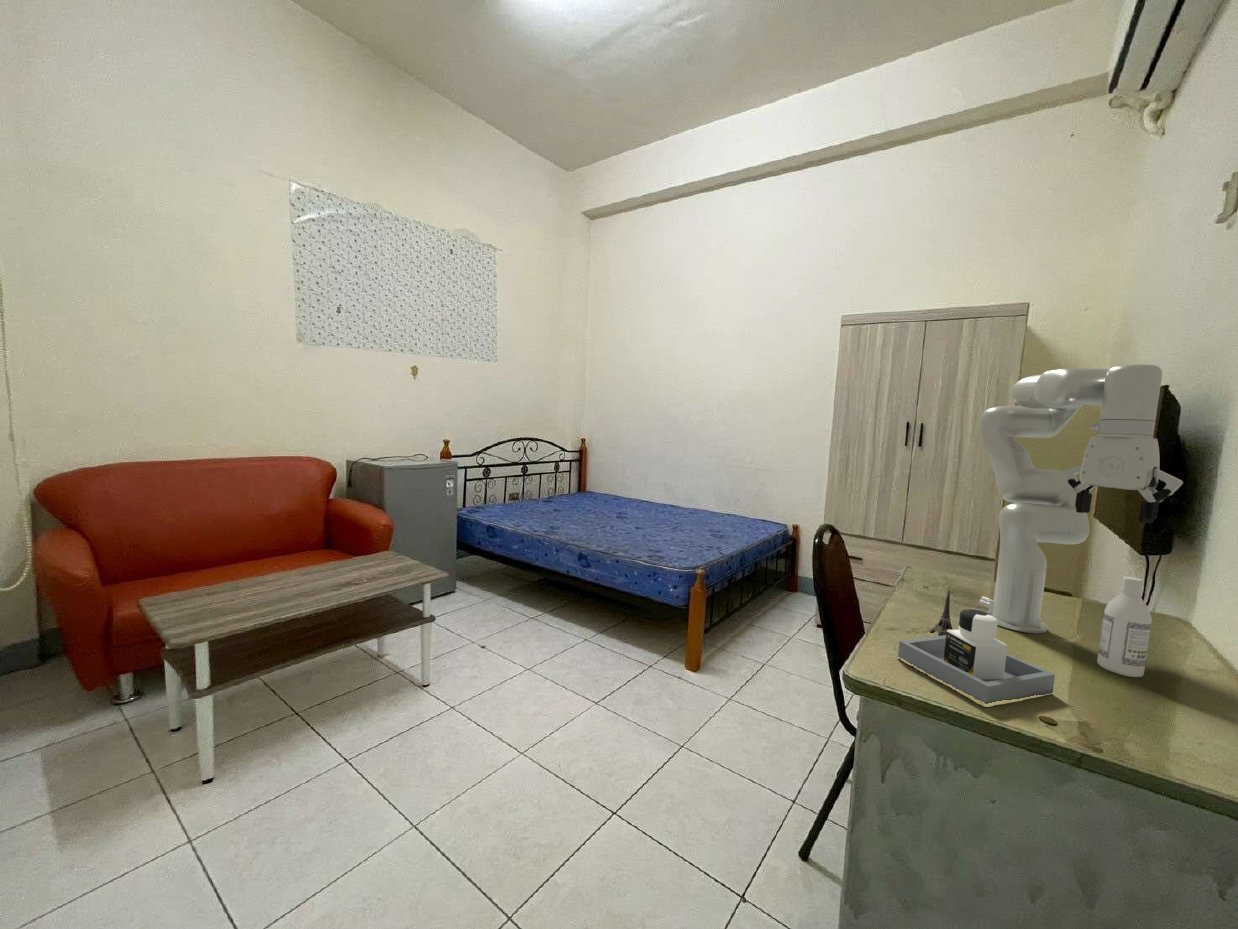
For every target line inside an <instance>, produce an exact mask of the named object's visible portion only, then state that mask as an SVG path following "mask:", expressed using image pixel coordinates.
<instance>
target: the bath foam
mask: <svg viewBox="0 0 1238 929" xmlns="http://www.w3.org/2000/svg"><path fill="white" fill-rule="evenodd" d="M1143 585H1144V579H1141V578H1138V577H1135V576H1128V575H1127V576H1123V577H1122V581H1121V590H1120V593H1118V594H1117V595H1116V596H1115V597H1113V598H1112V599H1111V600H1110V601H1109V602H1107V604H1106V605H1105V609H1104V611H1103V617H1102V624H1101V631H1100V636H1099V637H1100V638H1099V645H1098V652H1097V660H1096V662H1097V664H1098V665H1099V666H1100V667H1101V668H1102V669H1104V670H1107V671H1109V672H1111V673H1114V674H1117V675H1122V676H1124V677H1129V678H1130V677H1131V678H1142V677H1143V676H1144V674H1145V669H1146V668H1145V667H1146V663H1147V657H1148V650H1149V643H1150V638H1151V637H1150V636H1151V631H1152V625H1153V623H1152V621H1153V620H1152V615H1151V614H1152V613H1151V612H1150V609H1149V608H1148V605H1147V604H1146V603H1145V601H1144V600H1143V598H1142V593H1143V592H1142V591H1143V590H1142V589H1143Z"/></svg>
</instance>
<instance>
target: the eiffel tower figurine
mask: <svg viewBox="0 0 1238 929" xmlns="http://www.w3.org/2000/svg"><path fill="white" fill-rule="evenodd" d="M950 587H951V586H950V585H949V586H948V588H950ZM950 598H951V590H950V589H948V590H946V598H945V602H944V603H945V604H944V609H943V612H942V615H941V616H940V618H939V621H938V623H936V624H935V625H934V627H933V628H932V629H930V630H929V631H928V632H930V633H933V634H935V632H937V634H938V636H943V635H946V633H947V630H954V629H953V627H952V622H951V620H952V619H951V616H950V607H951V606H950V603H951V599H950Z"/></svg>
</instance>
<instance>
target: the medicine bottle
mask: <svg viewBox="0 0 1238 929" xmlns="http://www.w3.org/2000/svg"><path fill="white" fill-rule="evenodd" d="M958 621H959V622H958V629H953V630H947V633H946V642H945V651H944V659H943V661H945V662H947V663H949V664H951V665H953V666H955V667H957V668H959V669H961V670H963V671H965V672H967V673H969V674H971V675H973V676H975V677H977V678H979V679H981V680H1001V679H1003V678H1004V670H1005V662H1006V654H1008V644H1006V643H1004V642H1002V641H1001V640H998V639H997V632H998V626H999V625H998V620H997V619H996V618H995V617H994V616H992V615H991V614H989V613H986V611H983V610H978V609H970V608H969V609H963V610H961V611H960V612H959V618H958Z"/></svg>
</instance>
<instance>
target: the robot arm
mask: <svg viewBox="0 0 1238 929" xmlns="http://www.w3.org/2000/svg"><path fill="white" fill-rule="evenodd" d="M1162 380H1163V371H1162V368H1161V367H1160V366H1158V365H1154V364H1142V363H1141V364H1138V363H1137V364H1126V365H1123V364H1122V365H1117V366H1112V367H1111V368H1086V367H1085V368H1075V367H1074V368H1060V369H1052V370H1046V371H1044V372H1043V373H1042V374H1033V375H1031V376H1030V375H1029V376H1026V377H1023V378H1021V379H1020V380H1018V381H1017V382H1016V383H1015V384H1014V385H1013V386H1012V389H1011V398H1012V399H1013V401H1014V402H1015V403H1016V404H1017V405H1003V406H1002V405H1001V406H994V407H993V406H992V407H991V408H988V409H986V410H985V411H984V412H982V414H981V415H980V419H979V423H978V433H979V439H980V442H981V444H982V447H983V448H984V451H985V452H986V453H987V455H988V457H989V459H990V461H991V465H992V466H991V467H992V470H993V474H994V478H995V482H996V485H997V490H998V494H999V495H1000V497H1001V498H1002V499H1003V500H1004V501H1006V502H1010V503H1009V504H1008V505H1005V506H1004V507H1003V508H1002V509H1001V510H1000V511H999V516H998V525H999V526H998V527H999V538H1000V539H999V553H998V564H997V572H996V579H995V580H996V581H995V588H994V595H993V599H991V598H989V597H987V596H981V597H980V600H979V601H978V604H979V605H981V606H984V607H987V610H986V611H985V612H986V613H989V614H991V615H992V616H994V617H995V618H996V619H997V620H998V625H997V626H999V627H1002V628H1006V629H1009V630H1012V631H1018V632H1022V633H1027V634H1028V633H1029V634H1044V633H1046V632H1047V631H1048V625H1046V624H1045V623H1044V622H1042V621H1041V613H1042V606H1043V598H1044V591H1045V584H1046V578H1047V577H1046V576H1047V575H1046V574H1047V568H1048V560H1047V556H1046V555H1045V553H1044V552H1043V550H1042V549H1041V547H1040V546H1039V544H1038V543H1050V544H1059V545H1078V544H1081V543H1083V542H1085V541H1086V540H1087V539H1088V537H1089V535H1090V520H1089V517H1088V513H1090V511H1091V505H1092V504H1091V503H1092V498H1093V495H1092V493H1090V491H1092V490H1093V489H1095V488H1096V487H1100V488H1101V487H1103V488H1109V489H1110V488H1111V489H1116V490H1117V489H1121V490H1128V491H1129V490H1130V491H1138V492H1139V494H1141V496H1142V497H1143V499H1144V500H1143V501H1141V503H1140V508H1139V515H1138V522H1139V523H1141V524H1152V523H1154V520H1156V519H1157V517H1158V511H1159V506H1160V505H1159V504H1160V503H1161V502H1163V501H1164V500H1166V499H1168V498H1169V497H1171V496H1173V495H1174V494H1175V492H1176V491H1178V490H1179V489H1180V487H1181V486H1182V485H1183V484H1184V481H1183V480H1182V479H1179V478H1177V477H1175V476H1173V475H1171V474H1169V473H1167V472H1165V471H1163V470H1161V469H1160V463H1161V462H1160V447H1159V442H1158V438H1154V432H1155V427H1156V419H1157V413H1158V405H1159V398H1160V393H1161V385H1162ZM1083 406H1098V407H1099V406H1100V413H1099V419H1098V421H1097V423H1091V424H1090V426H1089V427H1090V430H1091V431H1096V434H1097V435H1096V436H1095V435H1092V436H1091V437H1090V438H1089V442H1088V443H1087V446H1086V449H1085V451H1084V455H1083V459H1082V462H1081V464H1080V465H1076V466H1074V467H1073V466H1072V467H1070V468H1067V469H1065V470H1064V471H1062V470H1057V469H1047V468H1046V469H1044V468H1043V469H1041V468H1038V467H1036V466H1035V465H1034V464H1033V461H1032V458H1031V454H1030V453H1029V451H1028V450H1027V448H1025V447H1024V446H1023V445H1022V444H1021V443H1020V442H1018V441H1017V440H1015V439H1014V438H1026V439H1027V438H1028V439H1030V438H1031V439H1032V438H1033V439H1051V438H1053V437H1055V436H1057V435H1058V434H1060V432H1061V431H1062V430H1063V429H1064V428H1065V427H1066V425H1068V423H1069V422H1070V421H1071V420H1072V418H1073V417H1074V416H1075V415H1076V414H1077V413H1078V412H1079V411H1080V409H1081V408H1082V407H1083ZM1078 474H1079V479H1078V476H1077V475H1078ZM1159 480H1160V481H1162V482H1164V483H1165V486H1164V487H1163V488H1162V489H1160V490H1159V491H1158V490H1157V489H1156V488H1157V486H1158V483H1159Z"/></svg>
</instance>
